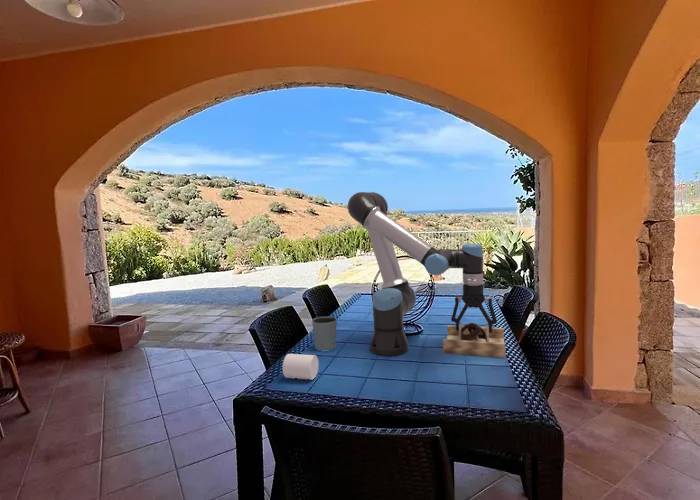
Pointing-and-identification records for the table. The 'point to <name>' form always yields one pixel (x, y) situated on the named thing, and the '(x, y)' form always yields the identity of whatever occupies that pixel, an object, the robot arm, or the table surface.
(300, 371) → the white cylinder
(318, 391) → the table surface
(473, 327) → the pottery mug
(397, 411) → the table surface
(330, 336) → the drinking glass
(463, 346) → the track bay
